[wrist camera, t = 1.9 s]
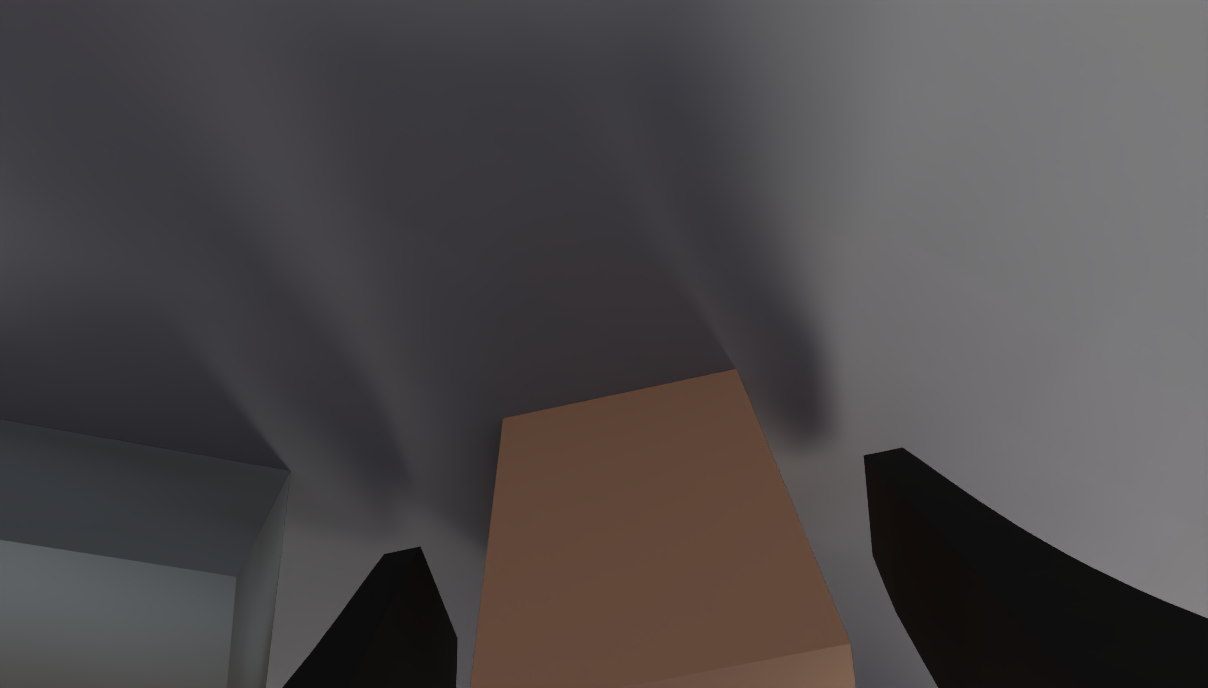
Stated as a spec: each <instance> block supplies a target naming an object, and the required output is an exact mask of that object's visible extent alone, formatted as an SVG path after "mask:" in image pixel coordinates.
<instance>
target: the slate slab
mask: <svg viewBox="0 0 1208 688" xmlns="http://www.w3.org/2000/svg"><path fill="white" fill-rule="evenodd" d="M290 472H291V471H288V470H282V469H276V468H271V467H265V466H260V465H254V464H248V463H243V462H237V461H232V460H226V459H220V458H215V457H209V456H203V455H198V454H192V453H187V452H181V451H175V450H170V449H164V448H159V447H153V446H147V445H142V444H136V443H131V442H125V441H119V440H114V439H108V438H103V437H97V436H91V435H86V434H80V433H74V432H69V431H63V430H58V429H52V428H46V427H41V426H35V425H30V424H24V423H18V422H13V421H7V420H2V419H0V688H266V680H267V671H268V662H269V654H270V645H271V637H272V628H273V619H274V611H275V602H276V593H277V585H278V576H279V567H280V559H281V550H282V541H283V533H284V524H285V515H286V507H287V498H288V490H289V481H290Z"/></svg>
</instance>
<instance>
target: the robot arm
mask: <svg viewBox="0 0 1208 688" xmlns="http://www.w3.org/2000/svg"><path fill="white" fill-rule="evenodd" d="M864 463H865V475H866V486H867V497H868V508H869V519H870V530H871V542H872V553H873V557H874V560H875V562H876V565H877V567H878V570H879V572H880V575H881V577H882V580H883V582H884V585H885V587H886V590H887V592H888V594H889V597H890V599H891V601H892V604H893V606H894V608H895V611H896V613H897V615H898V617H899V619H900V620H901V622H902V624H903V626H904V628H905V629H906V631H907V633H908V635H909V637H910V638H911V640H912V642H913V644H914V646H915V647H916V649H917V651H918V653H919V654H920V656H921V658H922V660H923V662H924V663H925V665H926V667H927V669H928V670H929V672H930V674H931V676H932V677H933V679H934V681H935V683H936V684H937V686H938V688H1208V618H1205V617H1203V616H1200V615H1198V614H1195V613H1193V612H1190V611H1188V610H1185V609H1183V608H1180V607H1178V606H1175V605H1173V604H1170V603H1168V602H1165V601H1163V600H1161V599H1158V598H1156V597H1154V596H1152V595H1149V594H1147V593H1145V592H1142V591H1140V590H1138V589H1136V588H1134V587H1131V586H1129V585H1127V584H1125V583H1123V582H1121V581H1119V580H1117V579H1115V578H1113V577H1111V576H1109V575H1107V574H1105V573H1102V572H1100V571H1098V570H1096V569H1094V568H1092V567H1090V566H1088V565H1086V564H1084V563H1082V562H1080V561H1079V560H1077V559H1075V558H1073V557H1071V556H1069V555H1067V554H1065V553H1064V552H1062V551H1060V550H1058V549H1057V548H1055V547H1053V546H1051V545H1050V544H1048V543H1046V542H1044V541H1043V540H1041V539H1039V538H1037V537H1036V536H1034V535H1032V534H1030V533H1029V532H1027V531H1025V530H1024V529H1022V528H1020V527H1019V526H1017V525H1015V524H1014V523H1012V522H1011V521H1009V520H1008V519H1006V518H1005V517H1003V516H1002V515H1000V514H998V513H997V512H995V511H994V510H992V509H991V508H989V507H988V506H986V505H985V504H983V503H981V502H980V501H978V500H977V499H976V498H974V497H973V496H971V495H970V494H968V493H967V492H965V491H964V490H962V489H961V488H959V487H958V486H957V485H955V484H954V483H952V482H951V481H949V480H948V479H947V478H945V477H944V476H942V475H941V474H940V473H938V472H937V471H935V470H934V469H932V468H931V467H930V466H928V465H927V464H925V463H924V462H923V461H921V460H920V459H918V458H917V457H916V456H914V455H913V454H911V453H910V452H908V451H907V450H905V449H904V448H898V449H893V450H889V451H884V452H879V453H874V454H869V455H864ZM456 674H457V636H456V633H455V631H454V629H453V626H452V624H451V621H450V619H449V616H448V614H447V611H446V609H445V606H444V604H443V601H442V599H441V596H440V594H439V591H438V589H437V586H436V584H435V581H434V579H433V576H432V574H431V571H430V569H429V566H428V564H427V561H426V559H425V556H424V554H423V552H422V549H421V547H416V548H411V549H407V550H402V551H397V552H392V553H387V554H384V555H383V556H382V558H381V559H380V560H379V562H378V563H377V564H376V566H375V567H374V568H373V570H372V571H371V572H370V574H369V575H368V576H367V578H366V579H365V581H364V582H363V583H362V585H361V586H360V587H359V589H358V590H357V592H356V593H355V594H354V596H353V597H352V598H351V600H350V601H349V603H348V604H347V605H346V607H345V608H344V609H343V611H342V612H341V614H340V615H339V616H338V618H337V619H336V620H335V622H334V623H333V624H332V626H331V627H330V628H329V630H328V631H327V632H326V634H325V635H324V636H323V638H322V639H321V640H320V642H319V643H318V644H317V646H316V647H315V648H314V650H313V651H312V652H311V653H310V655H309V656H308V657H307V658H306V660H305V661H304V662H303V663H302V664H301V666H300V667H299V668H298V669H297V671H296V672H295V673H294V674H293V675H292V677H291V678H290V679H289V680H288V681H287V683H286V684H285V685H284V686H283V688H456Z"/></svg>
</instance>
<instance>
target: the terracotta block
mask: <svg viewBox="0 0 1208 688" xmlns="http://www.w3.org/2000/svg"><path fill="white" fill-rule="evenodd" d="M470 688H856V687H855V678H854V669H853V660H852V651H851V643H850V641H849V638H848V636H847V633H846V631H845V629H844V626H843V624H842V621H841V619H840V617H839V614H838V612H837V609H836V607H835V605H834V602H833V600H832V597H831V595H830V593H829V590H828V588H827V585H826V583H825V581H824V578H823V576H822V573H821V571H820V568H819V566H818V564H817V561H816V559H815V556H814V554H813V552H812V549H811V547H810V544H809V542H808V540H807V537H806V535H805V532H804V530H803V528H802V525H801V523H800V520H799V518H798V516H797V513H796V511H795V508H794V506H793V504H792V501H791V499H790V496H789V494H788V492H787V489H786V487H785V484H784V482H783V479H782V477H781V475H780V472H779V470H778V467H777V465H776V463H775V460H774V458H773V455H772V453H771V451H770V448H769V446H768V443H767V441H766V439H765V436H764V434H763V431H762V429H761V427H760V424H759V422H758V419H757V417H756V415H755V412H754V410H753V407H752V405H751V402H750V400H749V398H748V395H747V393H746V390H745V388H744V386H743V383H742V381H741V378H740V376H739V374H738V371H737V369H733V370H728V371H724V372H719V373H714V374H710V375H705V376H700V377H695V378H691V379H686V380H681V381H677V382H672V383H667V384H662V385H658V386H653V387H648V388H644V389H639V390H634V391H630V392H625V393H620V394H615V395H611V396H606V397H601V398H597V399H592V400H587V401H582V402H578V403H573V404H568V405H564V406H559V407H554V408H550V409H545V410H540V411H535V412H531V413H526V414H521V415H517V416H512V417H507V418H503V424H502V432H501V440H500V448H499V457H498V465H497V473H496V481H495V489H494V497H493V505H492V513H491V522H490V530H489V538H488V546H487V554H486V562H485V570H484V578H483V587H482V595H481V603H480V611H479V619H478V627H477V635H476V643H475V651H474V660H473V668H472V676H471V684H470Z"/></svg>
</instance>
